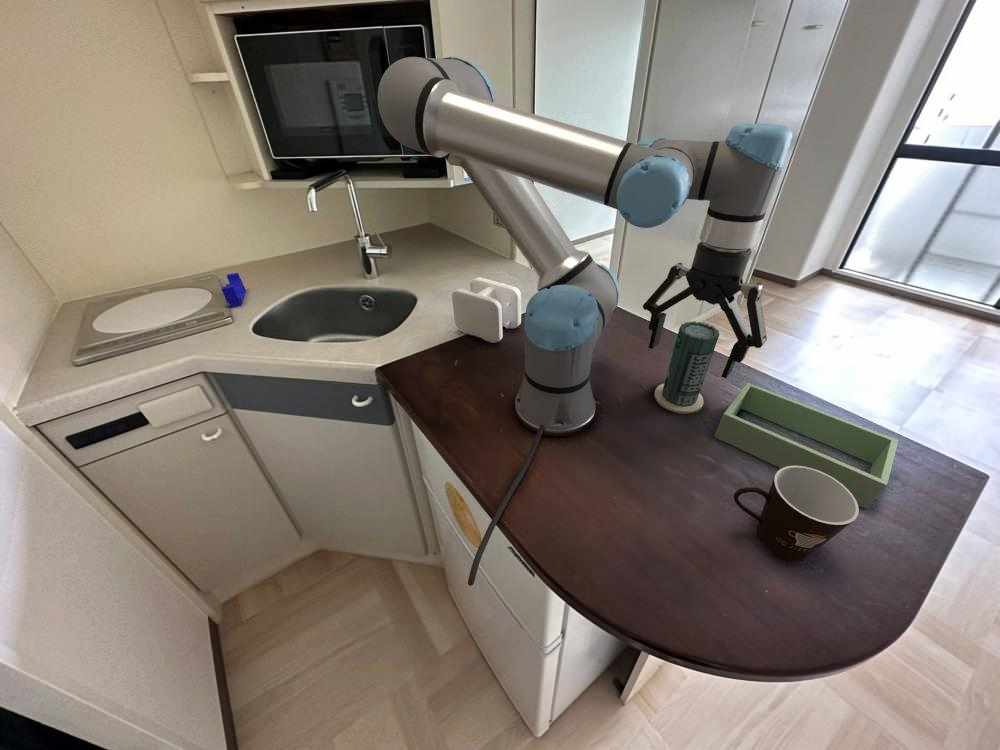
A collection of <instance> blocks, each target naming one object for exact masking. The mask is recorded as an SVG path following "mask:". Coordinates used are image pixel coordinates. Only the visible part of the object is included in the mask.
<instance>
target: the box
mask: <svg viewBox="0 0 1000 750" xmlns="http://www.w3.org/2000/svg"><path fill="white" fill-rule="evenodd" d="M741 410H743V411H744V412H745V411H746V412H748V413H750V414H753V415H755V416H756V417H757V416H758V417H759V418H761V419H765V420H767V421H769V422H771V423H773V424H777V425H779V426H781V427H783V428H786V429H789V430H790V431H793V432H796V433H798V434H800V435H803V436H805V437H808V438H810V439H812V440H814V441H816V442H819V443H822V444H824V445H826V446H829V447H831V448H834V449H836V450H838V451H840V452H842V453H845V454H847V455H850V456H852V457H855V458H857V459H860V460H862V461H864V462H866V463H869V464H871V467H870V470H869V473H868V472H866V471H863V470H861V469H859V468H857V467H854V466H852V465H850V464H847V463H845V462H843V461H840V460H838V459H836V458H834V457H832V456H829V455H826V454H824V453H822V452H820V451H817V450H815V449H813V448H811V447H808V446H806V445H804V444H801V443H800V442H797V441H794V440H792V439H790V438H787V437H785V436H782V435H781V434H778V433H776V432H775V431H771V430H769V429H766V428H765V427H762V426H761V425H757V424H755V423H753V422H751V421H748V420H746V419H743V418H741V417H739V416H737V414H738V413H739V412H740V411H741ZM713 436H714V438H716V439H718V440H720V441H723V443H726V444H728V445H730V446H733V447H735V448H737V449H739V450H740V451H743V452H744V453H745V452H746V454H747V453H748V454H749V455H752V456H754V457H756V458H758V459H760V460H762V461H764V462H767V463H768V464H770V465H772V466H775V467H776V468H779V469H781V468H784V467H787V466H805V467H809V468H813V469H816V470H819V471H821V472H823V473H825V474H828V475H829V476H831V477H833V478H834V479H836V480H837V481H839V482H840V483H842V484H843V485H844V486H845V487H846V488H847V489H848V490H849V491H850V492H851V493H852V495H853V496H854V498H855V499H856V501H857V504H858V506H859V507H860V508H863V509H864V510H867V509H868V508H869V507H870V506H871V504H872V503H873V502H875V500H876V499H877V498H878V496H879V495H880V494H881V493H882V492H883V491H884V490H885V488H886V487H887V486H888V484H889V483H888V482H889V479H890V474H891V471H892V467H893V464H894V460H895V454H896V451H897V447H898V443H899V440H898V439H897V438H895V437H892V436H889V435H886V434H884V433H881V432H878V431H876V430H873V429H870V428H868V427H865V426H863V425H860V424H858V423H856V422H852V421H850V420H847V419H845V418H842V417H839V416H836V415H834V414H831V413H828V412H826V411H823V410H821V409H818V408H815V407H813V406H810V405H808V404H805V403H802V402H800V401H797V400H795V399H792V398H789V397H787V396H784V395H781V394H779V393H776V392H774V391H771V390H769V389H766V388H763V387H760V386H757V385H756V384H753V383H750V382H746V383H745V385H744V386H743V387H742V388H741V390H740V392H739V393H738V394H737V395H736V397H734V400H733V401H732V402H731V403H730V405H729V406H728V407H727V408H726V410H725V411H724V412H723V414H722V417H721V419H720V421H719V424H718V426H717V429H716V431H715V433H714V435H713Z"/></svg>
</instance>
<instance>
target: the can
mask: <svg viewBox="0 0 1000 750" xmlns="http://www.w3.org/2000/svg"><path fill="white" fill-rule="evenodd" d="M719 337H720V330H718V329H717V328H716V327H715V326H714V325H710V324H709V323H705V322H702V321H685V322H684V323H681V325H680V326H679V329H678V332H677V334H676V340H675V343H674V347H673V350H672V354H671V358H670V362H669V365H668V369H667V372H666V376H665V379H664V383H663V384H664V387H663V391H662V395H663V397H664V398H665V399H666V401H669V402H670V403H671V404H674V405H677V406H682V407H685V406H692V405H693V404H695V402H696V400H697V398H698V395H699V393H700V392H701V389H702V386H703V383H704V380H705V377H706V375H707V372H708V369H709V366H710V363H711V361H712V357H713V354H714V352H715V349H716V345H717V342H718V340H719Z"/></svg>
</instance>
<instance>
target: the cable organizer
mask: <svg viewBox="0 0 1000 750" xmlns="http://www.w3.org/2000/svg"><path fill="white" fill-rule="evenodd" d="M469 289H470V291H469V290H467V289H462V288H457V289H456V290H454V291H452V293H451V301H452V311H453V317H454V318H453V319H454V324H455V325H454V326H455V327H456V329H458V330H459V331H461V332H463V333H464V334H466V335H470V336H473V337H477V338H480V339H482V340H484V341H486V342H488V343H492V344H494V343H499V342H500V341H501V340H502V339H503V337H504V335H503V333H504V332H503V331H504V330H503V327H504V328H506V330H508V329H516V328H518V327H519V326H520V325H521V323H522V293H521V291H520V289H519V288H517V287H516V286H514V285H511V284H507V283H503V282H499V281H495V280H492V279H488V278H484V277H481V276H479V277H478V276H477V277H475V278H473V279H471V280H470V282H469Z"/></svg>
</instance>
